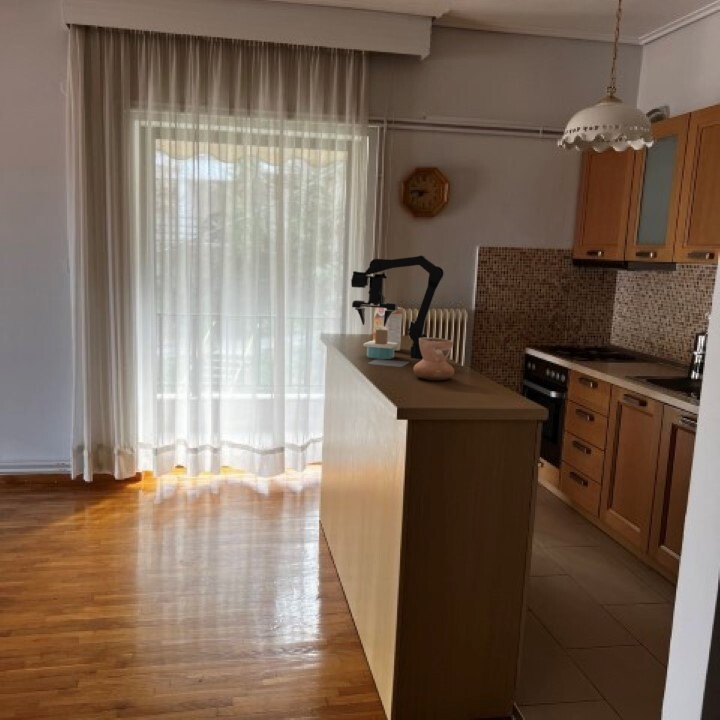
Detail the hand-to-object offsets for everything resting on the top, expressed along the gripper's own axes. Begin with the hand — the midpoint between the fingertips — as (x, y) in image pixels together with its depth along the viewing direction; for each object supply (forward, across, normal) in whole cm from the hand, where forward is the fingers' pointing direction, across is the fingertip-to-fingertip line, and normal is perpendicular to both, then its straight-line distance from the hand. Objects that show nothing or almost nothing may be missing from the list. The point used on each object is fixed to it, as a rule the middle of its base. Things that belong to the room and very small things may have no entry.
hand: (374, 325), depth 300 cm
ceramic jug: (+13, -34, +43) cm, 56 cm away
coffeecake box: (+13, 0, -24) cm, 27 cm away
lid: (+8, -5, +6) cm, 11 cm away
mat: (+12, -12, +20) cm, 26 cm away
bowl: (+12, -5, +6) cm, 15 cm away
